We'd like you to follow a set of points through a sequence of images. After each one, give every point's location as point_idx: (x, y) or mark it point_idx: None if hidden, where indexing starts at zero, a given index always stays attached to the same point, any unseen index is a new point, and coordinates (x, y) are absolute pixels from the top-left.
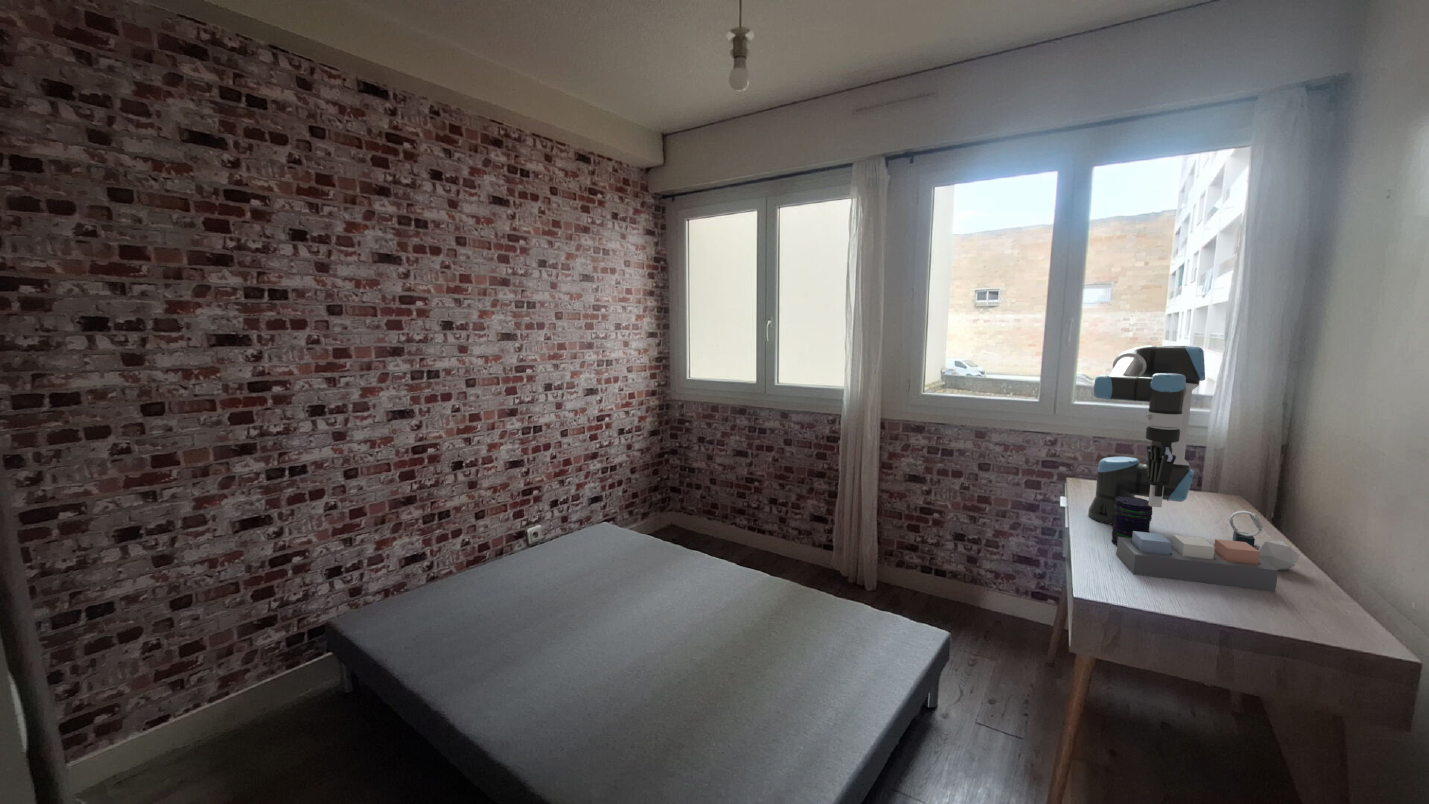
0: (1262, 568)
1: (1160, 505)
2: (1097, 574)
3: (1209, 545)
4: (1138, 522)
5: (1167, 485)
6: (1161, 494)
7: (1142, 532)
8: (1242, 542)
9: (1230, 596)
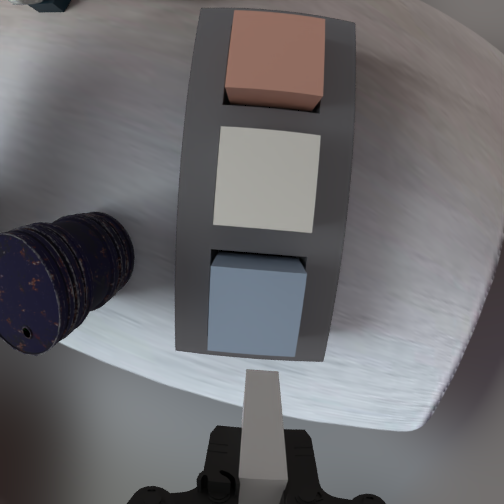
0: (355, 51)
1: (277, 382)
2: (325, 400)
3: (308, 145)
4: (92, 280)
5: (371, 495)
6: (310, 445)
7: (213, 325)
8: (241, 19)
9: (398, 167)
